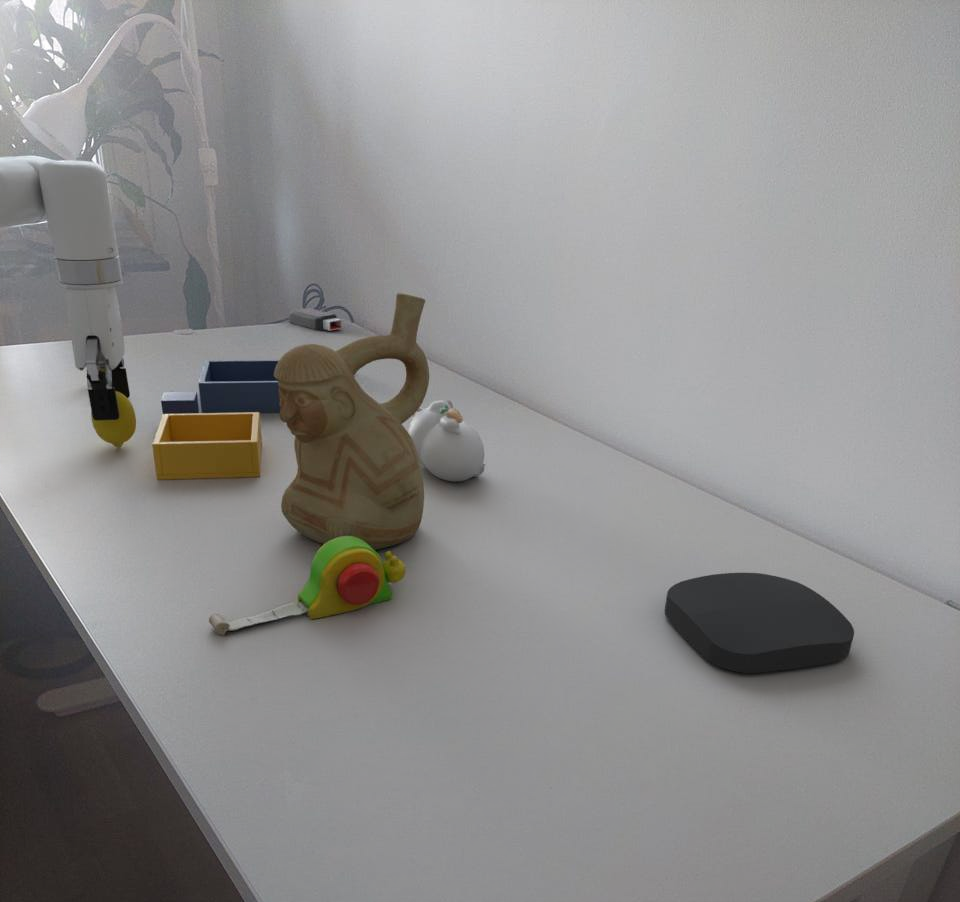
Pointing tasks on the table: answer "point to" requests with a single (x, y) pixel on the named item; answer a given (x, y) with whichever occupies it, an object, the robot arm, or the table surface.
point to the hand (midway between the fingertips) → (112, 408)
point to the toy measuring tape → (333, 584)
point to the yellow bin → (208, 446)
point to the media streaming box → (758, 622)
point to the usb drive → (315, 319)
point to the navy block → (179, 403)
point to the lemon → (117, 423)
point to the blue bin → (239, 386)
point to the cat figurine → (446, 442)
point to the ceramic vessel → (354, 437)
